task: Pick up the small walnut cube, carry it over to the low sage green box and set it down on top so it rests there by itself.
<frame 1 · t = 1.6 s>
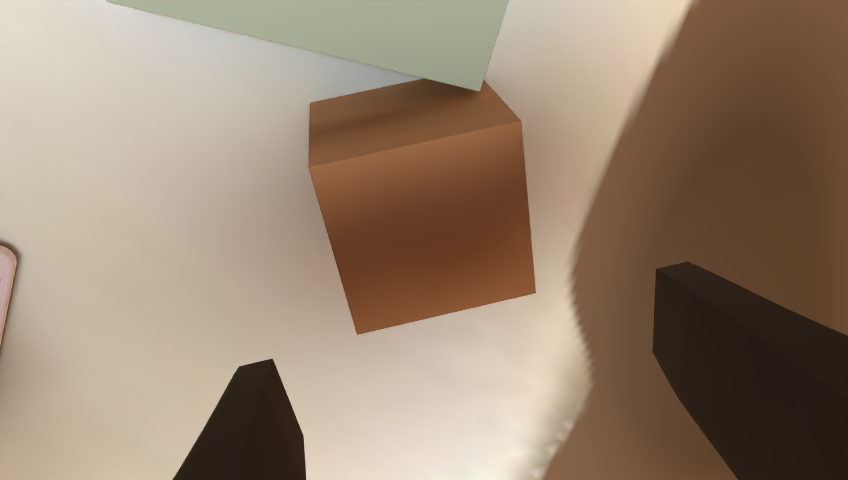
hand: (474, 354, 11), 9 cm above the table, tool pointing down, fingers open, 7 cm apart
walnut cube: (406, 160, 19), on the table
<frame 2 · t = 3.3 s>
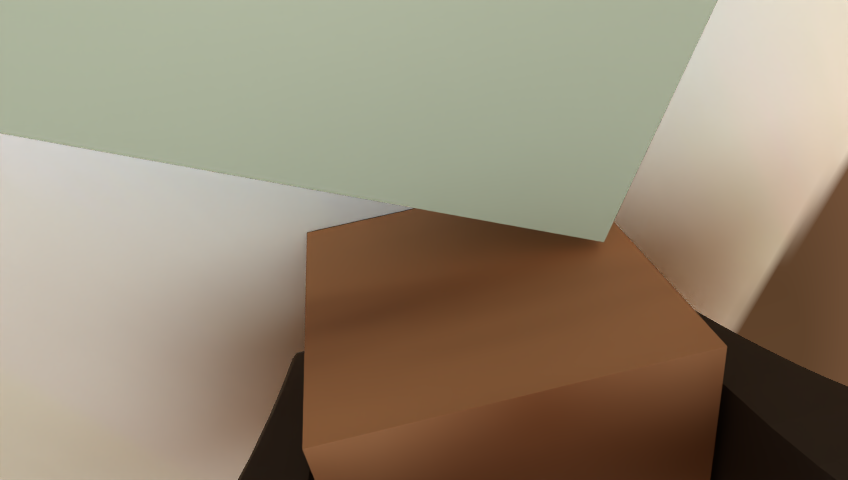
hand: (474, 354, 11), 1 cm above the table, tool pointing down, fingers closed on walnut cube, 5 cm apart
walnut cube: (458, 308, 12), on the table, touching gripper
when the fingers open (6 cm above the table, at t = 6.4 s): walnut cube drops 1 cm, resting on sage green box.
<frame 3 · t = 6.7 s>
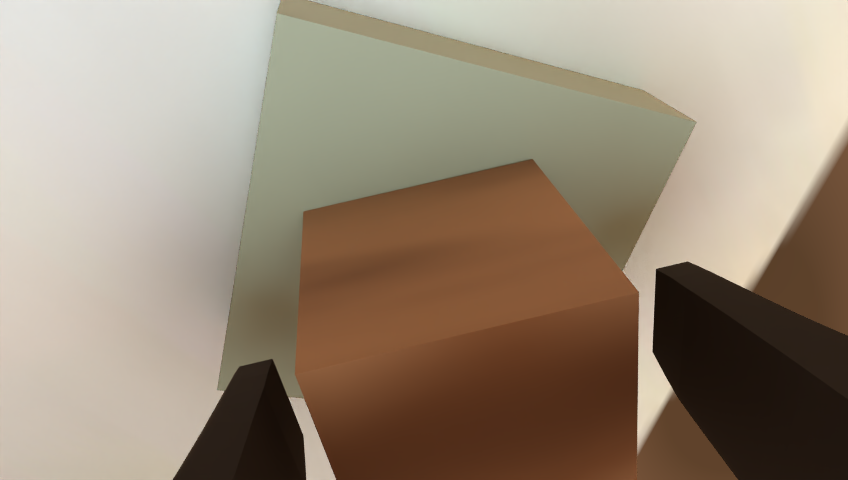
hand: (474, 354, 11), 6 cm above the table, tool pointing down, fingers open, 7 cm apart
sage green box: (423, 206, 16), on the table, touching walnut cube
walnut cube: (438, 279, 14), point 2 cm above the table, touching sage green box
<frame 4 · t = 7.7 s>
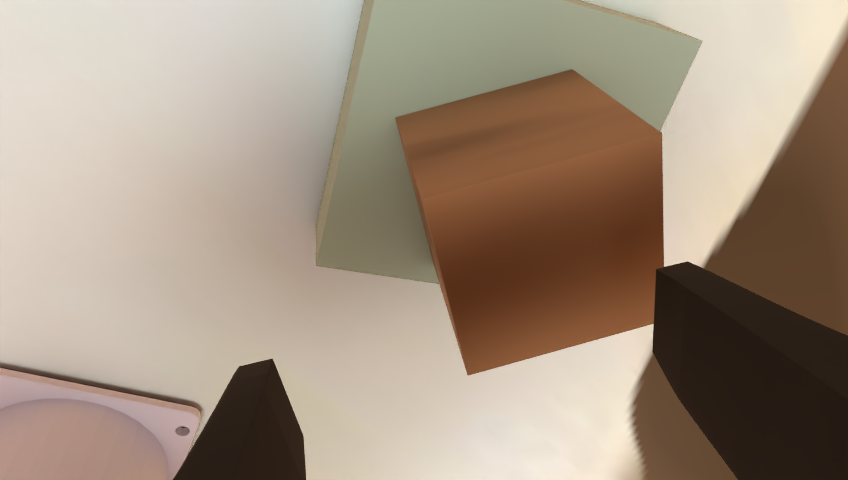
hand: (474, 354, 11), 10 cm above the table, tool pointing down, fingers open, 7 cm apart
sage green box: (476, 124, 20), on the table
walnut cube: (498, 174, 18), point 2 cm above the table
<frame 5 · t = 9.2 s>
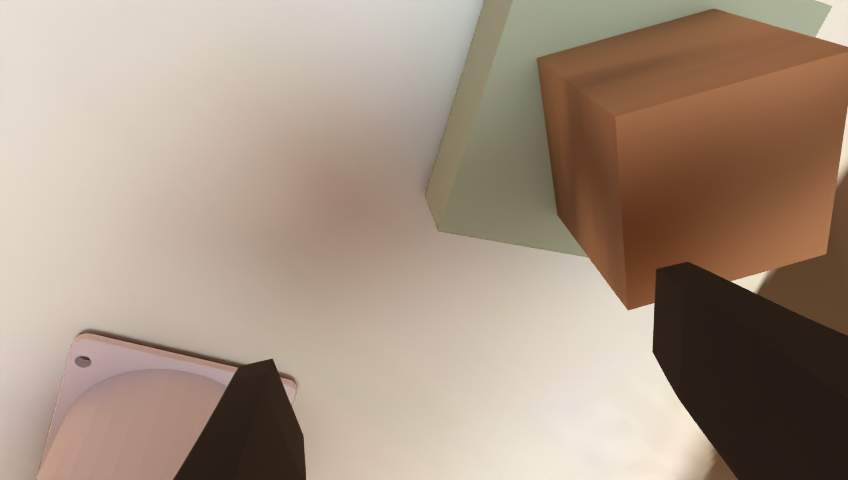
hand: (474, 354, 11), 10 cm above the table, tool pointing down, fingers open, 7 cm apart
sage green box: (586, 94, 20), on the table, touching walnut cube
walnut cube: (630, 119, 18), point 2 cm above the table, touching sage green box
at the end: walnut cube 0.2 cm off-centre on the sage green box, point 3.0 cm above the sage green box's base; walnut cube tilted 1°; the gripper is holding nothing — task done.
